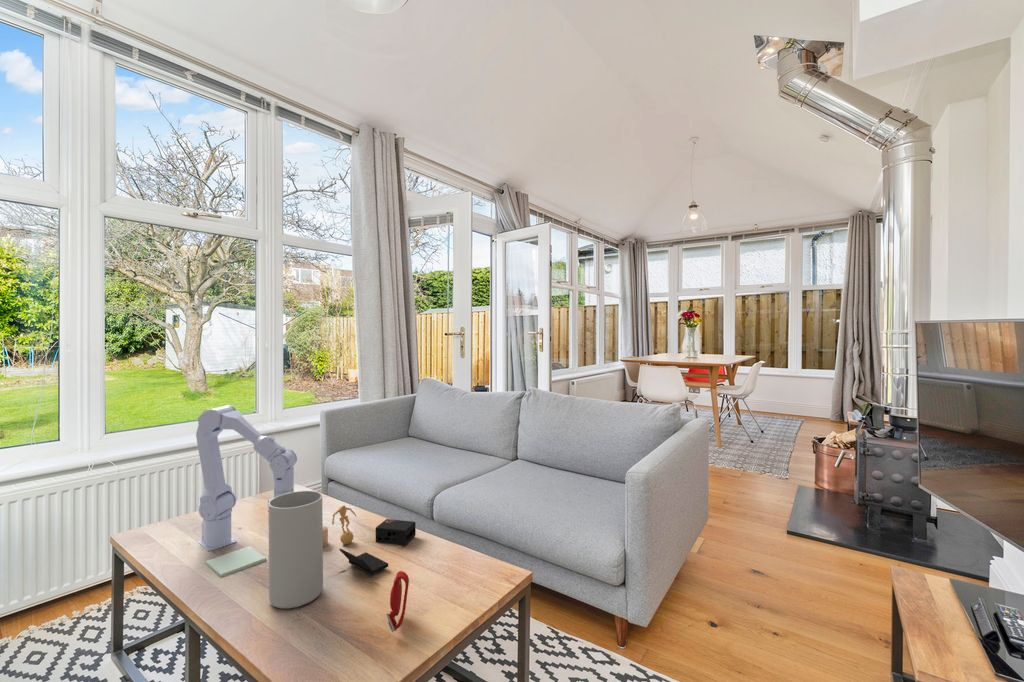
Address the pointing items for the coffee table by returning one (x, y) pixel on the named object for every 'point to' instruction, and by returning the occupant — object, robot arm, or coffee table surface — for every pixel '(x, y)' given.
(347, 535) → the figurine
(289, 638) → the coffee table surface
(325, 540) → the pink rounded capsule
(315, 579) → the cylinder vase
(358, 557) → the black angular piece
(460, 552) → the coffee table surface
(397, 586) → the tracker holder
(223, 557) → the sage board
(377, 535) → the electronic device
